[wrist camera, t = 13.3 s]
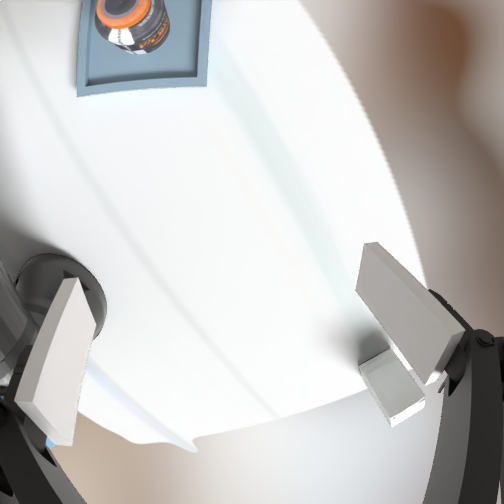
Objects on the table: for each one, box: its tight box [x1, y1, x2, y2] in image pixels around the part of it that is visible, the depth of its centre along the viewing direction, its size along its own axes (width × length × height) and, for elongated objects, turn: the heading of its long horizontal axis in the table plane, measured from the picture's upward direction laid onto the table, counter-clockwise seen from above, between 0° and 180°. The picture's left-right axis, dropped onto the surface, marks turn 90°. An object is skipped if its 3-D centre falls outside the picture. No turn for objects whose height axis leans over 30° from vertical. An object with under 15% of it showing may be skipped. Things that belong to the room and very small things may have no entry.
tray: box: [77, 0, 212, 97], centre depth 24 cm, size 14×14×2 cm
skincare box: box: [359, 348, 425, 427], centre depth 54 cm, size 8×6×15 cm
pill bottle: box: [95, 0, 170, 55], centre depth 20 cm, size 6×6×11 cm
